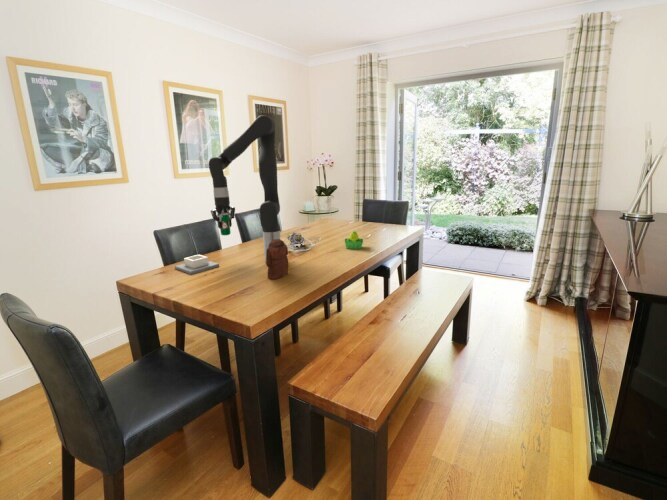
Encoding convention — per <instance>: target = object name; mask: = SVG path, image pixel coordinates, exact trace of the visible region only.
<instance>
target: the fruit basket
mask: <svg viewBox="0 0 667 500" xmlns="http://www.w3.org/2000/svg"><path fill="white" fill-rule="evenodd" d="M363 243H364V238H359V235H358V233H357V231H355V230H353V231H351V232H350V234H349V238H345V239H344V244H345V248H346V250H348V249H349V250H362V246H363Z"/></svg>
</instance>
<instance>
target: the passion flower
mask: <svg viewBox="0 0 667 500" xmlns="http://www.w3.org/2000/svg"><path fill="white" fill-rule="evenodd" d="M304 237H305V236H304V235H302V234H301V233H300V232H295V231H293V232H292V234H291V235H288V236H287V239H288V240H289V241H290V243H289V244H290V246H294V244H301V243H303V241H304V242H306V240H307V239H306V238H304Z"/></svg>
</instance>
